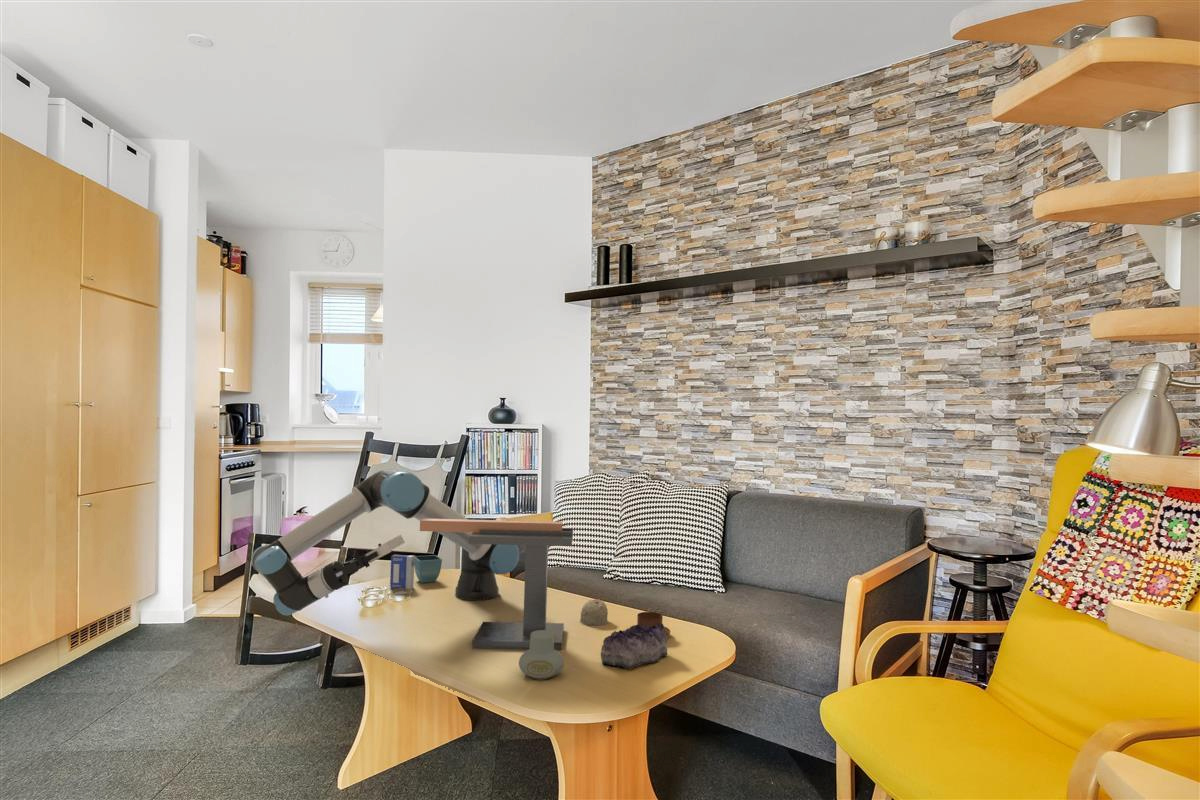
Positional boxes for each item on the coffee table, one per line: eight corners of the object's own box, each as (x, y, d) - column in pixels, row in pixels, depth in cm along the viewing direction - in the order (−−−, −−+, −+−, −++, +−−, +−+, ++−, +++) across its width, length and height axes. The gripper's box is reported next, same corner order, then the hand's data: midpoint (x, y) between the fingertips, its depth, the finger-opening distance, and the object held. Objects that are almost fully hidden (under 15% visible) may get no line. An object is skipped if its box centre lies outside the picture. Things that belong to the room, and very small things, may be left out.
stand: (465, 648, 183) (469, 532, 184) (475, 628, 201) (479, 523, 202) (568, 650, 184) (571, 535, 185) (570, 630, 202) (573, 525, 203)
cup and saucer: (677, 635, 200) (677, 614, 200) (657, 645, 190) (657, 623, 190) (642, 627, 207) (642, 607, 207) (621, 637, 197) (621, 616, 197)
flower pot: (441, 582, 257) (442, 558, 258) (418, 584, 253) (419, 560, 253) (435, 577, 265) (435, 554, 265) (412, 580, 260) (413, 556, 261)
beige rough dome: (608, 635, 210) (615, 606, 215) (598, 624, 204) (606, 595, 209) (583, 630, 214) (591, 602, 219) (573, 620, 207) (581, 591, 212)
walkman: (389, 588, 246) (391, 555, 247) (392, 586, 249) (394, 553, 250) (411, 589, 246) (412, 556, 246) (413, 587, 248) (414, 554, 249)
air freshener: (564, 669, 169) (565, 628, 170) (562, 681, 161) (563, 639, 162) (520, 668, 169) (521, 627, 170) (516, 680, 161) (517, 638, 162)
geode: (644, 646, 189) (649, 611, 189) (675, 663, 181) (681, 626, 180) (591, 659, 175) (596, 621, 175) (622, 678, 167) (628, 638, 167)
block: (419, 531, 191) (420, 520, 191) (423, 528, 195) (423, 518, 195) (561, 534, 192) (561, 523, 192) (562, 532, 196) (562, 521, 196)
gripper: (350, 580, 204) (413, 546, 205) (318, 602, 179) (389, 563, 180) (339, 558, 205) (401, 524, 205) (304, 577, 180) (376, 538, 180)
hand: (396, 542), depth 193 cm, fingers open, 13 cm apart
